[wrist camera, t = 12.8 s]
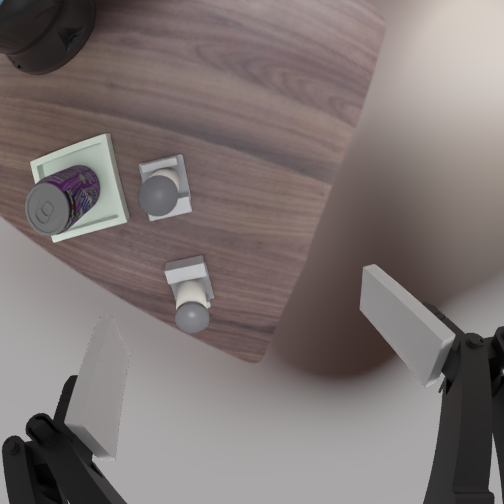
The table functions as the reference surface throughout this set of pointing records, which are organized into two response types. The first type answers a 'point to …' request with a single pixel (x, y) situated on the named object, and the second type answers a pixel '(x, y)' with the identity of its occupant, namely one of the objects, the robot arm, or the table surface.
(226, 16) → the table surface
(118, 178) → the tray
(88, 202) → the beverage can
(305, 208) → the table surface
